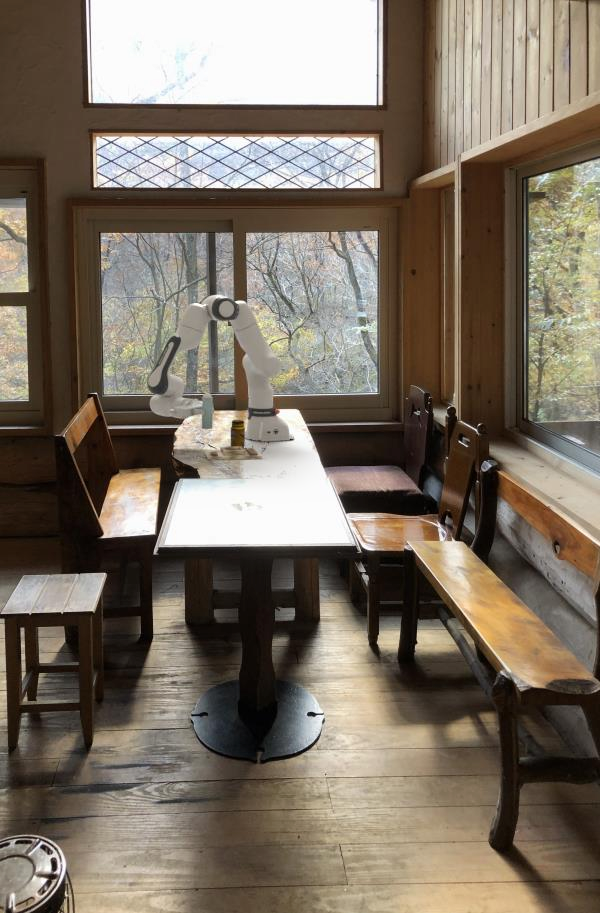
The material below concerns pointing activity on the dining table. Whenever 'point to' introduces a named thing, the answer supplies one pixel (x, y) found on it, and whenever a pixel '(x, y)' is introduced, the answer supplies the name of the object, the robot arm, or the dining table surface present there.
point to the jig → (232, 453)
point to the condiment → (237, 434)
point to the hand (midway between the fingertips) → (208, 411)
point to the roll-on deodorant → (207, 411)
